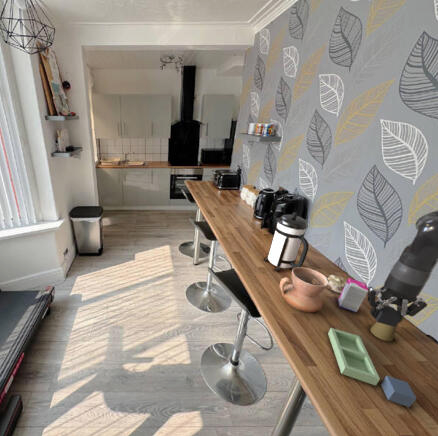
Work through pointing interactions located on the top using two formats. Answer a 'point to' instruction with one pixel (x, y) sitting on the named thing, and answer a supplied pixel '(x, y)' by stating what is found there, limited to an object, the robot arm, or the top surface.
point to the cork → (384, 330)
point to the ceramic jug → (304, 289)
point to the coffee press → (288, 242)
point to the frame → (353, 356)
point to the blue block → (398, 391)
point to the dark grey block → (388, 316)
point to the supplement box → (353, 295)
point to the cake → (336, 283)
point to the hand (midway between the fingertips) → (383, 318)
